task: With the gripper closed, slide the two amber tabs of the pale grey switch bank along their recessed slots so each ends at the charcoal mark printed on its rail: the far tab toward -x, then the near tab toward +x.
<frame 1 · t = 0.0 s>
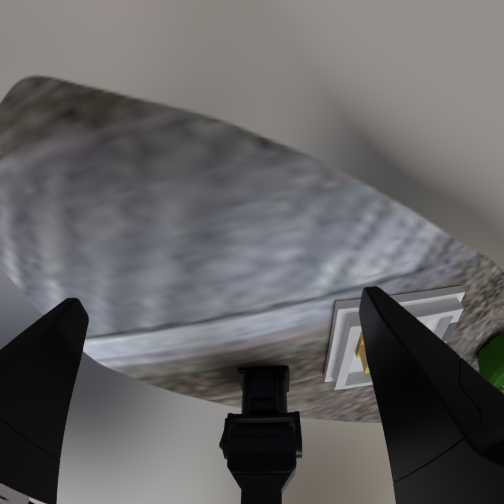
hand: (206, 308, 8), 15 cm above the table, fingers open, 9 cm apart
switch bank: (391, 335, 31), on the table
bell pepper: (490, 343, 34), on the table
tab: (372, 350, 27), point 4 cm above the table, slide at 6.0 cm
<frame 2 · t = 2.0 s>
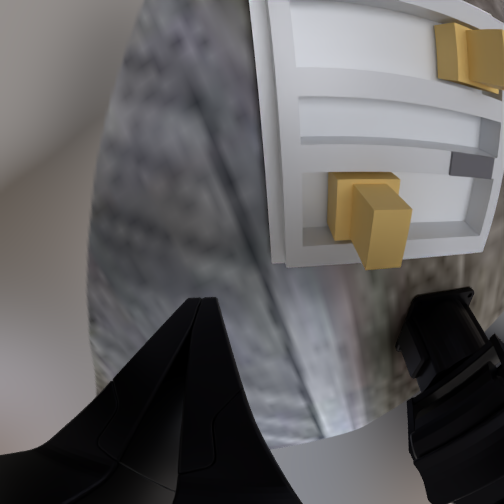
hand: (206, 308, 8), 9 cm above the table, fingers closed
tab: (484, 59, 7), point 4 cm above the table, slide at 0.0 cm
switch bank: (393, 116, 12), on the table
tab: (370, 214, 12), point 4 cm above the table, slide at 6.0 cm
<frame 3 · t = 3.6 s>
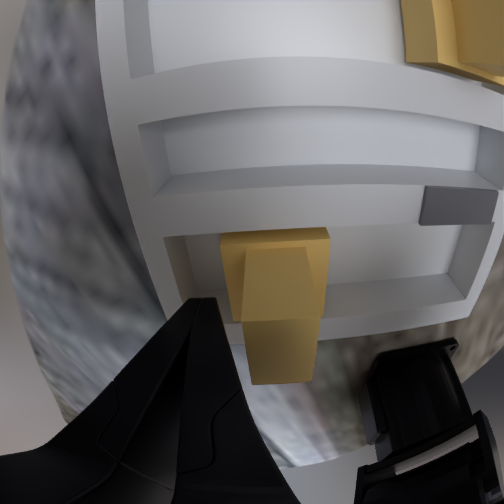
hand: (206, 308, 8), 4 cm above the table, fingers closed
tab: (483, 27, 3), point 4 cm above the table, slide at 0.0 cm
switch bank: (336, 127, 9), on the table
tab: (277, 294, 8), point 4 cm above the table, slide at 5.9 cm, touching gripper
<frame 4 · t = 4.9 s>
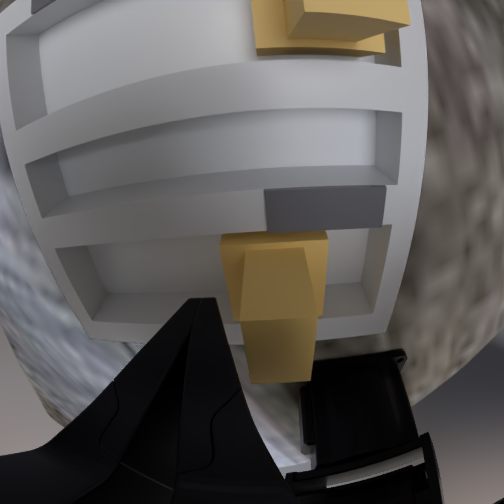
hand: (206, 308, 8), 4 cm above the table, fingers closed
switch bank: (205, 136, 9), on the table
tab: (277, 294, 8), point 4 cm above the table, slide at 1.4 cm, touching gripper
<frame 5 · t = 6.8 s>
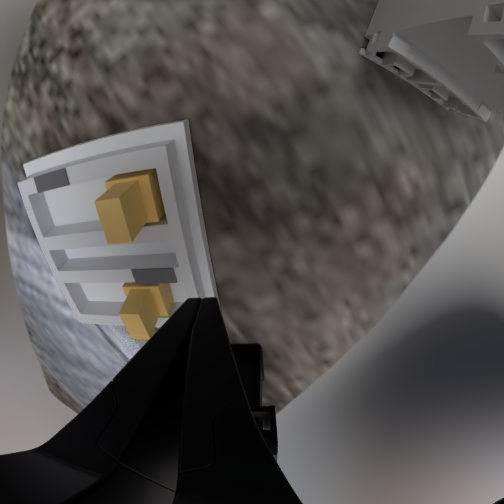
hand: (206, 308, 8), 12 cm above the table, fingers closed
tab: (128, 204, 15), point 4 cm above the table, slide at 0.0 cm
switch bank: (121, 236, 21), on the table
circuit breaker: (432, 6, 10), on the table
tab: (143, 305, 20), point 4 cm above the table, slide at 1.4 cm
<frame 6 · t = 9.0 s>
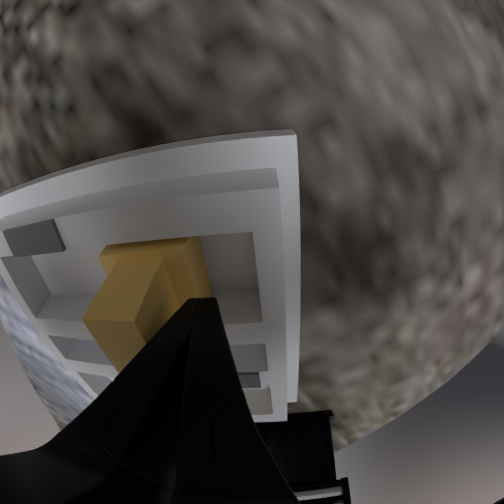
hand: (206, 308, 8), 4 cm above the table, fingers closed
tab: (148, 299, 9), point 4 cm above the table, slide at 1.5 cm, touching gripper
switch bank: (157, 310, 14), on the table
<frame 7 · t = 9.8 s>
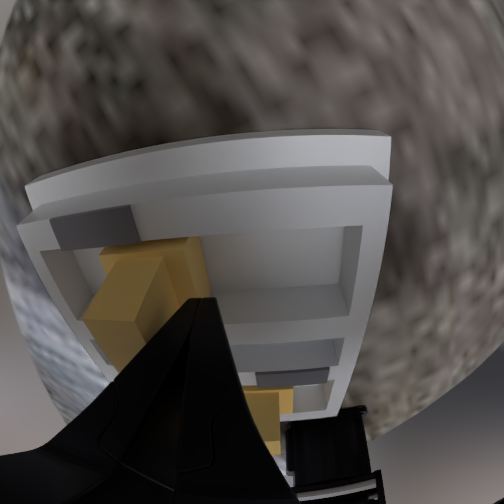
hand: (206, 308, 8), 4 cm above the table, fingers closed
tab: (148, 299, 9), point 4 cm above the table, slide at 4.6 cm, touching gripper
switch bank: (215, 309, 14), on the table
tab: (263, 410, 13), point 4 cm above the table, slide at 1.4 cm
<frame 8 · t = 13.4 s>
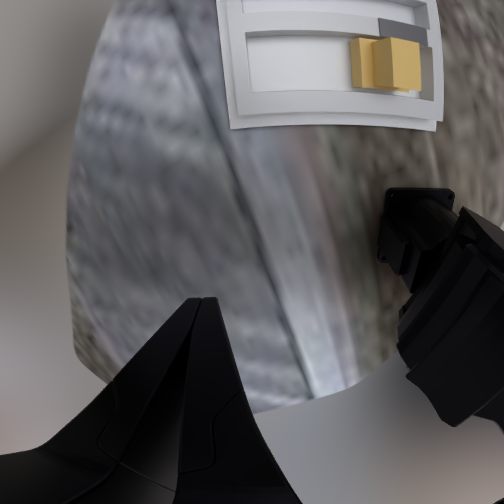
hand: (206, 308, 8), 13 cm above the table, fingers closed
switch bank: (331, 10, 12), on the table
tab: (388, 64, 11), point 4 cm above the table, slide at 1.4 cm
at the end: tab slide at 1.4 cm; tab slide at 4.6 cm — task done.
